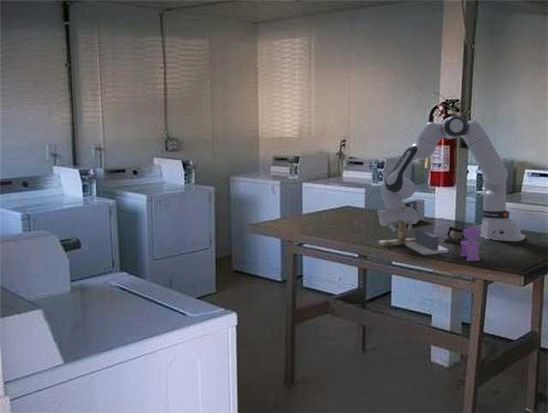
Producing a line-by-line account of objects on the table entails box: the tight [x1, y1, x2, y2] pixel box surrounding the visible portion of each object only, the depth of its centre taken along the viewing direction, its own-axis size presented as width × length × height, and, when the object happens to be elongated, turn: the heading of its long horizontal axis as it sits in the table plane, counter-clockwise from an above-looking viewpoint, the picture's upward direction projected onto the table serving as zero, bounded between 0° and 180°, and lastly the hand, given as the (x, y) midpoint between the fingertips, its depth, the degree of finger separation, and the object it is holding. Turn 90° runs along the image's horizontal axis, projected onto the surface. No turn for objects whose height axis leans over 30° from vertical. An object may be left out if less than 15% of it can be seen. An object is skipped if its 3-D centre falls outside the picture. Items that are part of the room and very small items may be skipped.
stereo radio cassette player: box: [402, 197, 426, 222], centre depth 364 cm, size 21×8×20 cm, turn 123°
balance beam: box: [378, 220, 415, 247], centre depth 312 cm, size 24×4×12 cm, turn 102°
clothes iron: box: [443, 225, 465, 246], centre depth 310 cm, size 7×11×10 cm, turn 43°
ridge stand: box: [404, 228, 449, 256], centre depth 299 cm, size 20×13×8 cm, turn 12°
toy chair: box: [460, 226, 481, 262], centre depth 280 cm, size 8×9×15 cm
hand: (402, 230), depth 312 cm, fingers open, 7 cm apart
